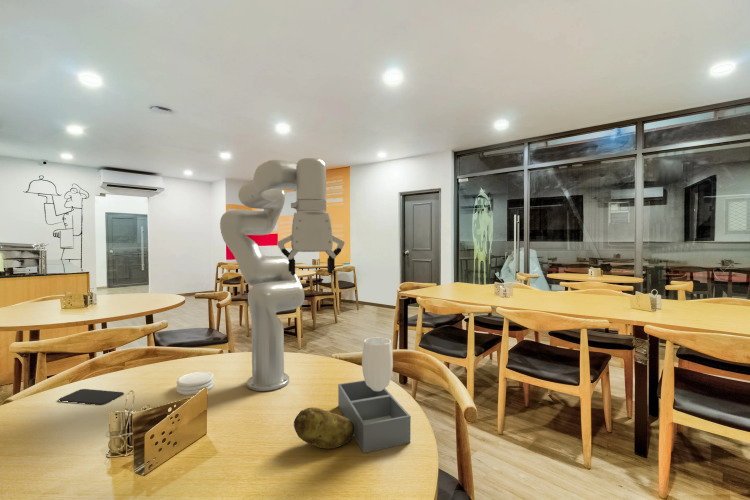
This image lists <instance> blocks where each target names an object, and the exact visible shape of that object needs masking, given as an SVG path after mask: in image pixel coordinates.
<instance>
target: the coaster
mask: <svg viewBox="0 0 750 500" xmlns="http://www.w3.org/2000/svg"><path fill="white" fill-rule="evenodd" d="M214 377H215V376H214V373H212V372H210V371H195V372H190V373H187V374H184V375H181V376H180V377H179V378H178V379H177V380H176V393H178V394H180V395H183V396H192V395H197V394H196V393H198V392H199V391H200V390H202V389H203V388H206V387H207V388H208V390H207V391H209V390H211V389H212V388H213V387H214V384H215V382H214Z"/></svg>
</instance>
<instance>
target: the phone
mask: <svg viewBox="0 0 750 500" xmlns="http://www.w3.org/2000/svg"><path fill="white" fill-rule="evenodd" d="M124 395H125V393H124V392H123V391H114V390H102V389H89V388H82V389H78V390H75V391H74V392H71V393H69V394H66V395H64V396H62V397H60V398H58V401H59V400H60V401H68V402H77V403H76V404H79V403H85V404H84V405H91V404H95V406H104V405H107V404H109V403H111V402H113V401H115V400H116V399H118V398H120V397H122V396H124ZM112 400H113V401H112Z"/></svg>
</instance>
